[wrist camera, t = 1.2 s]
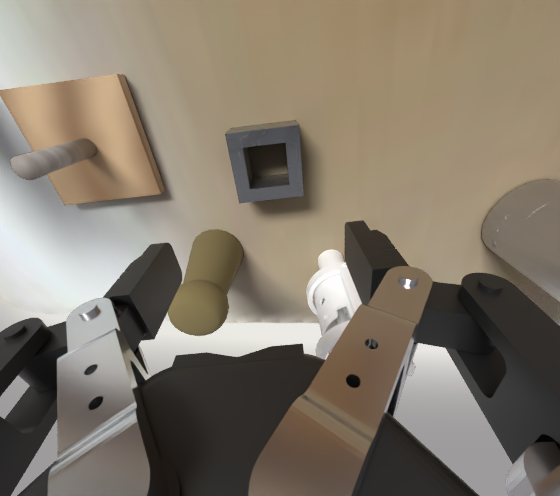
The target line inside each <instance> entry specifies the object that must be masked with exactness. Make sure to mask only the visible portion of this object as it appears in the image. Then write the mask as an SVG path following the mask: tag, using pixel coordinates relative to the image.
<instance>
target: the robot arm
mask: <svg viewBox="0 0 560 496" xmlns="http://www.w3.org/2000/svg"><path fill="white" fill-rule="evenodd" d="M482 239H483V242H484V244H485V245H486V246H487V247H488V248H489V249H490V250H491V251H493V252H494V253H495V254H497V255H498V256H499V257H501V258H502V259H503V260H505V261H506V262H507V263H509V264H510V265H511V266H512V267H514V268H515V269H516V270H518V271H519V272H520V273H522V274H523V275H524V276H526V277H527V278H528V279H530V280H531V281H532V282H534V283H535V284H536V285H538V286H539V287H540V288H542V289H543V290H544V291H546V292H547V293H548V294H550V295H551V296H552V297H554V298H555V299H556V300H558V301H559V302H560V181H557V180H549V179H545V180H537V181H533V182H530V183H527V184H525V185H522V186H520V187H518V188H516V189H515V190H513V191H511V192H510V193H508V194H507V195H506V196H504V197H503V198H502V199H501V200H500V201H499V202H498V203H497V204H496V205H495V206H494V207H493V208H492V209H491V211H490V212H489V214H488V215H487V217H486V219H485V221H484V224H483V228H482ZM345 261H346V265H347V268H348V270H349V273H350V275H351V278H352V280H353V282H354V285H355V287H356V290H357V292H358V295H359V297H360V300H361V302H362V304H361V305H360V306H359V307H358V309H357V310H356V312H355V313H354V315H353V317H352V318H351V320H350V322H349V323H348V325H347V326H346V328H345V330H344V331H343V333H342V334H341V336H340V338H339V339H338V341H337V343H336V344H335V346H334V347H333V349H332V351H331V352H330V354H329V355H328V357H327V359H326V360H324V359H322V358H319V357H317V356H313V355H309V354H304V351H303V344H295V345H283V346H272V347H268V348H265V349H262V350H259V351H256V352H253V353H250V354H247V355H244V356H241V357H232V356H225V355H218V354H212V353H198V354H188V355H177V356H176V357H175V360H174V362H173V365H172V367H170V368H168V369H165V370H163V371H160V372H159V373H157V374H155V375H153V376H151V374H150V371H149V368H148V366H147V363H146V360H145V358H144V355H143V352H142V350H141V348H140V347H139V343H140V341H141V340H151V339H155V336H156V334H157V332H158V330H159V328H160V326H161V324H162V322H163V320H164V318H165V316H166V314H167V311H168V309H169V307H170V305H171V303H172V301H173V299H174V297H175V295H176V293H177V291H178V288H179V286H180V284H181V282H182V272H181V269H180V266H179V264H178V261H177V259H176V256H175V254H174V251H173V249H172V246H171V245H170V244H169V243H160V244H151V245H150V246H149V247H148V248H147V249H146V251H145V252H144V253H143V254H142V256H140V257H139V258H138V259H136V260H135V261H133V262H132V263H131V264H130V265H129V266H128V267H127V269H126V270H125V272H123V274H122V275H121V276H120V279H118V280H117V281H116V282H115V283H114V285H113V286H112V287H111V288H110V289H109V291H108V292H107V293H106V294H105V296H104V297H103V298H97V299H94V300H91V301H88V302H86V303H84V304H82V305H80V306H79V307H77V308H76V309H75V310H74V311H73V312H72V313H71V314H70V315H69V316H68V318H67V320H66V321H65V322H62V323H59V324H56V325H53V326H49V327H47V326H46V325H45V324H44V323H43V322H42V320H40V319H39V318H29V319H26V320H22V321H20V322H17V323H15V324H13V325H11V326H9V327H8V328H6V329H5V330H3V331H2V332H0V396H1V395H2V393H3V392H4V391H5V390H6V389H7V388H8V386H9V385H10V384H11V383H12V381H13V380H14V379H15V378H16V376H18V375H19V376H20V377H21V378H22V379H23V380H24V381H25V382H27V383H28V384H29V385H30V387H29V388H28V389H27V391H26V392H25V393H24V394H23V396H22V397H21V398H20V400H19V401H18V402H17V404H16V405H15V406H14V408H13V409H12V410H11V411H10V413H9V414H8V415H7V417H6V418H5V419H3V418H1V417H0V496H11V494H12V492H13V491H14V489H15V487H16V486H17V484H18V483H19V481H20V479H21V478H22V476H23V474H24V473H25V471H26V469H27V468H28V466H29V464H30V463H31V461H32V459H33V458H34V456H35V454H36V453H37V451H38V450H39V448H40V446H41V445H42V443H43V441H44V439H45V438H46V436H47V435H48V433H49V431H50V430H51V428H52V426H53V424H54V423H55V421H56V420H57V423H58V424H57V431H58V456H57V460H56V461H55V462H54V463H53V464H52V465H51V466H50V467H48V468H47V469H46V470H45V471H44V472H43V473H42V474H41V475H39V476H38V477H37V478H36V479H35V480H34V481H33V482H32V483H31V484H30V485H28V486H27V487H26V488H25V489H24V490H23V491H22V492H21V493H20V494H19V495H17V496H479V495H478V494H477V493H475V492H474V490H473V489H471V488H470V487H469V486H468V485H467V484H466V483H465V482H464V481H463V480H462V479H460V478H459V477H458V476H457V475H456V474H455V473H454V472H452V471H451V470H450V469H449V468H448V467H447V466H446V465H445V464H444V463H443V462H442V461H441V460H440V459H439V458H437V457H436V456H435V455H434V454H433V453H432V452H431V451H430V450H428V448H426V447H425V446H424V445H423V444H422V443H421V442H420V441H419V440H418V439H417V438H416V437H414V436H413V435H412V434H411V433H410V432H409V431H408V430H407V429H406V428H405V427H403V426H402V425H401V424H400V423H399V422H398V421H397V420H396V419H395V418H394V416H395V413H396V410H397V407H398V404H399V400H400V397H401V393H402V390H403V386H404V383H405V380H406V377H407V374H408V371H409V368H410V365H411V362H412V359H413V356H414V353H415V350H416V348H417V344H418V343H423V344H428V345H433V346H439V347H445V348H446V349H447V351H448V353H449V355H450V356H451V358H452V360H453V361H454V363H455V365H456V367H457V368H458V370H459V372H460V374H461V375H462V377H463V379H464V380H465V382H466V384H467V386H468V388H469V389H470V391H471V393H472V394H473V396H474V397H475V400H476V401H477V403H478V405H479V407H480V408H481V410H482V411H483V413H484V415H485V417H486V418H487V420H488V422H489V424H490V425H491V427H492V429H493V431H494V432H495V434H496V436H497V438H498V439H499V441H500V443H501V444H502V446H503V448H504V450H505V451H506V453H507V455H508V456H509V458H510V460H511V462H512V463H513V465H512V466H511V467H510V469H509V470H508V472H507V474H506V480H505V483H506V490H507V494H508V496H560V326H559V325H558V324H556V323H555V322H554V321H553V320H552V319H551V318H550V317H549V316H548V315H547V314H545V313H544V312H543V311H542V310H541V309H540V308H539V307H538V306H537V305H536V304H534V303H533V302H532V301H531V300H530V299H529V298H528V297H527V296H526V295H525V294H523V293H522V292H521V291H520V290H519V289H518V288H517V287H516V286H515V285H513V284H512V283H511V282H509V281H507V280H505V279H504V278H501V277H499V276H495V275H492V274H487V273H471V274H468V275H466V276H465V277H464V278H463V279H462V282H461V285H456V284H447V283H438V282H433V281H432V279H431V277H430V276H429V275H428V274H427V273H426V272H424V271H422V270H420V269H418V268H414V267H410V266H409V265H408V264H407V263H406V261H405V260H404V259H403V257H402V256H401V255H400V253H399V252H398V251H397V249H395V247H394V245H393V244H392V243H391V241H390V240H389V239H388V237H387V236H386V235H385V234H383V233H381V232H379V231H378V230H371V231H370V229H369V228H368V226H367V225H366V223H365V222H364V221H363V220H362V221H354V222H346V224H345Z"/></svg>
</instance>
